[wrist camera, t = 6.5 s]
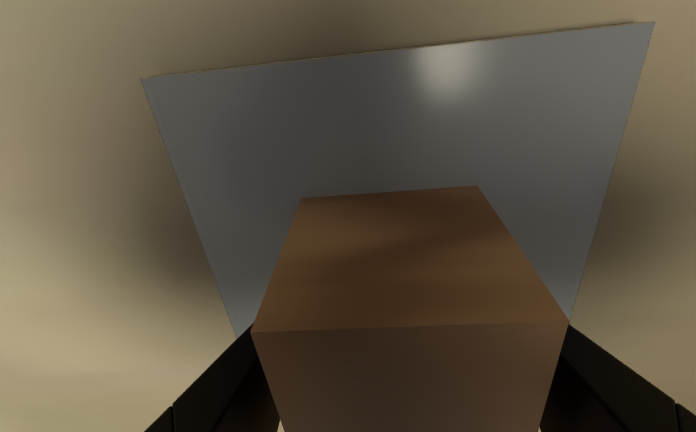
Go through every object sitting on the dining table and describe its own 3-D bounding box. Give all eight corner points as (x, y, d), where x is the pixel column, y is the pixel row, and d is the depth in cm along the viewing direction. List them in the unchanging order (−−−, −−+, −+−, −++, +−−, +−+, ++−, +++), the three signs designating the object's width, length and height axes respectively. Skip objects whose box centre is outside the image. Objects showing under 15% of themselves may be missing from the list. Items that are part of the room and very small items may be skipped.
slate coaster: (636, 22, 8) (655, 21, 7) (546, 364, 14) (552, 377, 13) (153, 75, 9) (140, 79, 9) (257, 369, 15) (253, 382, 14)
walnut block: (477, 185, 10) (569, 320, 5) (466, 315, 12) (522, 483, 8) (301, 198, 10) (250, 332, 6) (325, 320, 12) (302, 481, 8)
